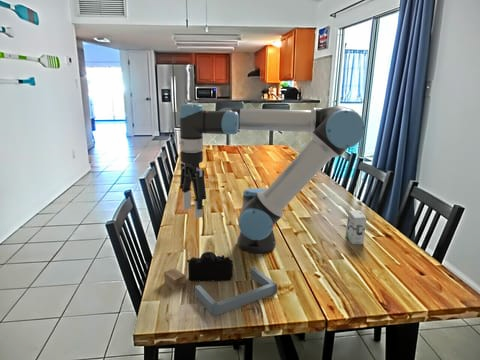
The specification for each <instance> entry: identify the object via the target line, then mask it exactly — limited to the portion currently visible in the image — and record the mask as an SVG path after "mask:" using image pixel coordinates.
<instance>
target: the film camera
mask: <svg viewBox="0 0 480 360" xmlns="http://www.w3.org/2000/svg"><path fill="white" fill-rule="evenodd" d="M186 263H188V264H187V265H188V266H187V267H188V268H187V269H188V281H190V282H229V281H231V280H233V279H232V278H233V273H234V272H233V271H234V270H233V266H234V264H233V260H232V259H231V258H230V257H229V256H225V255H224V254H223V255H216V254H215V253H214V252H213V251H205V252H203V253H202V254H201V256H200V257H194V256H193V257H191V258H190V259H187V260H186Z"/></svg>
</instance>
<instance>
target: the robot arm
mask: <svg viewBox="0 0 480 360" xmlns="http://www.w3.org/2000/svg"><path fill="white" fill-rule="evenodd" d="M239 130H244V131H245V130H246V131H248V130H249V131H269V132H270V131H271V132H272V131H273V132H275V131H276V132H298V133H299V132H302V133H310V134H311V135H312V139H311V140H310V142H309V143H308V144H307V145H306V146H304V149H303V150H302V151H301V152H299V154H298V155H296V157H295V158H294V159H293V160H292V162H291V163H290V164H289V165H288V166H287V167H286V168H285V169H284V170H283V171H282V172H281V174H280V175H278V177H277V178H275V180H274V181H273V182H272V183H271V184H270V186H269V187H268V188H261V187H260V188H258V187H254V188H253V187H251V188H246V189H244V190H243V193H242V206H241V210H240V213H239V216H238V228H239V231H240V232H239V235H238V237H237V246H238V248H239V249H241V250H242V251H244V252H247V253H251V254H264V253H269V252H271V251H273V250H274V249H275V248H276V243H277V241H276V236H275V233H274V230H273V229H274V226H275V225H276V224H277V222H278V221H279V220H280V219H281V218H282V217H283V216H284V208H286V206H287V205H289V203H290V202H292V200H293V199H294V198H295V197H296V196H297V195H298V194H299V193H300V192H301V191H302V190H303V188H304V187H306V185H307V184H308V183H310V181H311V180H313V178H314V177H315V176H316V175H317V174H318V173H319V172H320V171H321V170H322V168H324V167H325V166H326V164H328V162H330V160H331V159H332V158H338V157H341V155H342V154H344V153H345V152H346V150H347V149H350V148H353V147H355V146H356V145H358V143H360V141H361V140H362V139H363V137H364V134H365V131H366V129H365V122H364V119H363V118H362V116H361V115H360V114H359V113H358V112H357V111H356V110H354V109H352V108H348V107H346V106H341V105H339V106H338V105H337V106H327V107H313V108H312V109H311V110H307V109H305V110H303V109H300V110H299V109H271V108H270V109H267V108H234V107H233V108H232V107H226V106H225V107H223V108H220V109H219V110H205V109H203V105H202V104H199V103H183V104H181V105H180V106H179V138H180V139H179V142H178V143H179V145H180V150H181V151H180V162H181V163H180V181H179V189H180V190H181V192H182V200H183V202H182V203H183V204H182V206H183V207H182V208H183V211H187V210H191V209H192V193H191V191H192V189H191V185H192V187H193V192H194V197H195V198H194V199H193V201H194V219H199V218H203V217H204V215H203V214H204V213H203V211H204V210H203V206H204V205H203V203H204V202H203V200H206V199H207V193H206V192H207V191H206V184H205V182H206V181H205V170H204V169H200V164H201V163H203V161H204V152H203V149H204V136H203V135H204V134H206V135H207V134H211V135H212V134H213V135H227V136H228V135H236V134H238V132H239Z"/></svg>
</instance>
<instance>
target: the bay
mask: <svg viewBox="0 0 480 360" xmlns="http://www.w3.org/2000/svg"><path fill="white" fill-rule="evenodd" d="M250 277H251V278H252V279H253V280H254V281H255V282H257V283H258V284H259V285H260V286H259V287H257V288H254V289H250V290H248V291H244V292H242V293H239V294H235V296H231V297H228V298H225V299H223V300H220V301H217V302H216V301H215V300H214V299H213V297H212V296H211V295H210V294H209V293H208V292H207V291H206V290H205V289H204V288H203V286H201V285H200V284H198V285H195V286H194V295H195V297H196V298H197V299H198V300H199V301H200V302H201V304H203V306H204V307H205V308H206V309H207V311H209V312H210V314H211V315H212V316H213V317H217V316H220V315H222V314H225V313H227V312H229V311H233V310H236V309H238V308H241V307H243V306H246V305H249V304H251V303H254V302H256V301H259V300H262V299H264V298H267V297H270V296H272V295H275V294H277V292H278V291H277V290H278V283H276V282H274V281H273V280H272V279H271V278H270V277H268V276H267V275H265V274H264V273H263V272H262V271H260V270H259V269H258V268H256V266H255V267H251V268H250Z"/></svg>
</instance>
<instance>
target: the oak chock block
mask: <svg viewBox="0 0 480 360" xmlns="http://www.w3.org/2000/svg"><path fill="white" fill-rule="evenodd" d="M163 276H164V279H163V281H164V284H165V285H166V286H167V287H169V288H170V289H171V290H173V291H175V292H176V291H178V290H180V289H183V288H185V287H186V284H187V283H186V274H184V273H183V272H181V271H180V270H178V269H177V268H175V267H174V268H171V269H168V270H167V271H164V272H163Z"/></svg>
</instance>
